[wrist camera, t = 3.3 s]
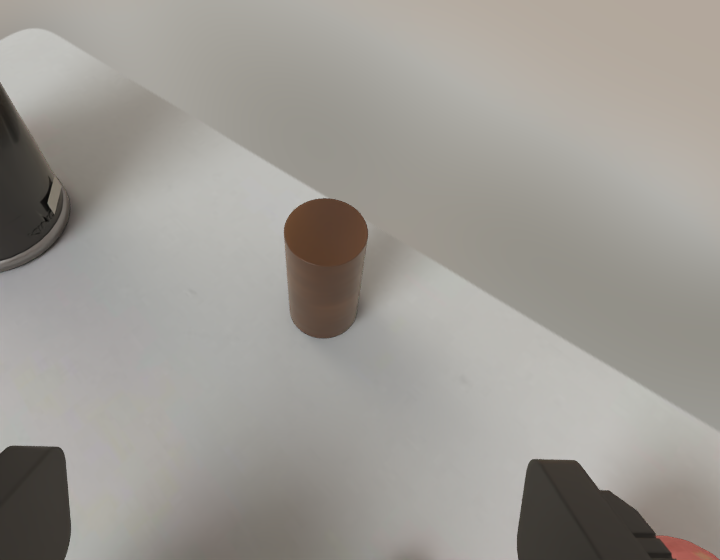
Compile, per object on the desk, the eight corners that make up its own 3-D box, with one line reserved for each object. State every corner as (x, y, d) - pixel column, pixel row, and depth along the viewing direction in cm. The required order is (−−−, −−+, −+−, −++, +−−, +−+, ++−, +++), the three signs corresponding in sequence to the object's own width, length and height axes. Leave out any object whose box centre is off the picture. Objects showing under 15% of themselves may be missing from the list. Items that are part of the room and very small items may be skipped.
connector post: (282, 331, 37) (274, 257, 29) (298, 273, 40) (295, 191, 32) (350, 344, 37) (359, 273, 29) (362, 286, 39) (374, 206, 32)
